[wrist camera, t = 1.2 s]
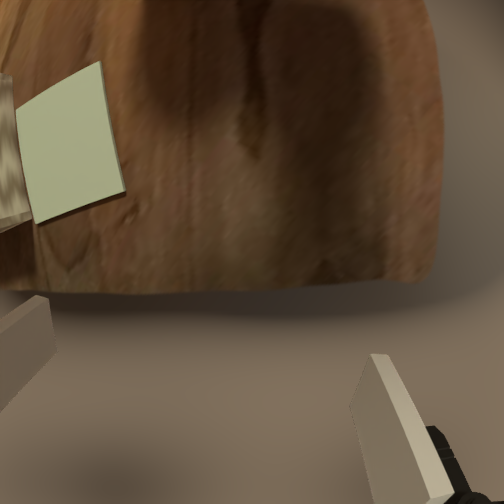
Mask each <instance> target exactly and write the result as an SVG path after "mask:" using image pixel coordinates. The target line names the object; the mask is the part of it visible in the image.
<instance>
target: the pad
mask: <svg viewBox="0 0 504 504" xmlns="http://www.w3.org/2000/svg"><path fill="white" fill-rule="evenodd" d="M16 118H17V128H18V137H19V144H20V151H21V158H22V164H23V169H24V175H25V180H26V185H27V190H28V195H29V199H30V204H31V208H32V212H33V216H34V220H35V224H38V223H40V222H43V221H45V220H48V219H50V218H53V217H55V216H58V215H60V214H63V213H65V212H68V211H71V210H73V209H76V208H78V207H81V206H84V205H87V204H89V203H92V202H95V201H98V200H101V199H103V198H106V197H109V196H112V195H115V194H118V193H121V192H124V191H126V188H125V184H124V180H123V176H122V172H121V167H120V163H119V159H118V154H117V149H116V145H115V140H114V135H113V130H112V125H111V119H110V114H109V108H108V102H107V96H106V90H105V84H104V77H103V70H102V62H100V61H98V62H96V63H94V64H92V65H90V66H88V67H86V68H84V69H82V70H80V71H79V72H77V73H75V74H73V75H71V76H69V77H68V78H66V79H64V80H62V81H61V82H59V83H57V84H56V85H54V86H52V87H51V88H49V89H47V90H46V91H44V92H42V93H41V94H39V95H38V96H36V97H35V98H33V99H32V100H30V101H29V102H27V103H26V104H24V105H23V106H21V107H20V108H18V109H17V110H16Z"/></svg>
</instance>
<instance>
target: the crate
mask: <svg viewBox="0 0 504 504" xmlns="http://www.w3.org/2000/svg"><path fill="white" fill-rule="evenodd" d="M30 219H32V216H31V212H30V208H29V203H28V199H27V194H26V190H25V185H24V180H23V174H22V169H21V163H20V157H19V150H18V143H17V135H16V126H15V116H14V104H13V84H12V76H11V75H6V74H2V73H0V233H2V232H4V231H6V230H8V229H10V228H13V227H15V226H17V225H19V224H21V223H23V222H26V221H28V220H30Z"/></svg>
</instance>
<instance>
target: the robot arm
mask: <svg viewBox="0 0 504 504" xmlns="http://www.w3.org/2000/svg"><path fill="white" fill-rule="evenodd" d="M56 353H57V347H56V342H55V336H54V331H53V325H52V319H51V313H50V306H49V299H48V298H44V297H41V296H38V295H35V296H34V297H32V298H31V299H29V300H28V301H26V302H25V303H23V304H22V305H20V306H19V307H17V308H16V309H15V310H13V311H12V312H10V313H9V314H7V315H6V316H4V317H3V318H1V319H0V412H1V411H2V410H3V409H4V408H5V407H6V405H7V404H8V403H9V402H10V401H11V400H12V399H13V398H14V397H15V396H16V395H17V394H18V392H19V391H20V390H21V389H22V388H23V387H24V386H25V385H26V384H27V383H28V382H29V381H30V380H31V379H32V378H33V377H34V376H35V375H36V374H37V372H38V371H39V370H40V369H41V368H42V367H43V366H44V365H45V364H46V363H47V362H48V361H49V360H50V359H51V358H52V357H53V356H54V355H55V354H56ZM350 409H351V413H352V417H353V421H354V425H355V428H356V432H357V436H358V440H359V444H360V447H361V451H362V455H363V459H364V463H365V467H366V471H367V476H368V480H369V484H370V488H371V493H372V497H373V501H374V504H504V501H497V502H491V501H490V500H489V499H488V498H487V496H485V495H483V494H481V493H477V492H472V491H471V489H470V487H469V485H468V483H467V481H466V478H465V476H464V474H463V472H462V470H461V468H460V466H459V464H458V462H457V460H456V458H454V454H453V452H452V449H450V446H449V444H448V442H447V440H446V438H445V436H444V435H443V434H442V433H441V432H440V431H439V430H438V429H437V428H436V427H435V426H426V427H425V426H424V424H423V422H422V420H421V418H420V416H419V414H418V412H417V410H416V408H415V406H414V404H413V402H412V400H411V398H410V396H409V394H408V392H407V390H406V388H405V386H404V384H403V382H402V380H401V379H400V377H399V375H398V373H397V371H396V369H395V367H394V365H393V364H392V362H391V360H390V358H389V356H388V355H387V354H370V355H369V358H368V361H367V364H366V366H365V369H364V371H363V374H362V377H361V379H360V382H359V384H358V387H357V389H356V392H355V394H354V397H353V399H352V401H351V404H350Z"/></svg>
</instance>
